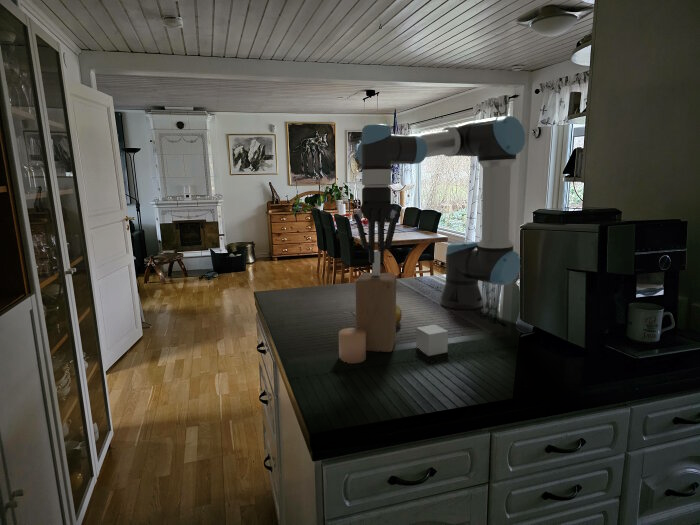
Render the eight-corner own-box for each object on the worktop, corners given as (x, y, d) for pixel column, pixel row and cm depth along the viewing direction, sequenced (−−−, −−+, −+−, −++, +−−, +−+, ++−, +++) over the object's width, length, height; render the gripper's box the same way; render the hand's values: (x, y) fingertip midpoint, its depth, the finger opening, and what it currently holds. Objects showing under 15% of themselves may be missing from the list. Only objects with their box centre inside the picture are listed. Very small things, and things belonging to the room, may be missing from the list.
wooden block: (392, 353, 115) (392, 280, 112) (355, 351, 117) (354, 279, 114) (395, 340, 125) (396, 272, 121) (361, 338, 127) (361, 271, 123)
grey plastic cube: (434, 344, 121) (434, 324, 120) (447, 352, 116) (448, 331, 115) (416, 348, 119) (416, 327, 118) (428, 356, 114) (429, 334, 112)
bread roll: (379, 316, 148) (379, 293, 146) (407, 319, 144) (407, 296, 142) (367, 328, 136) (366, 303, 134) (396, 331, 132) (397, 306, 131)
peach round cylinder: (363, 351, 117) (362, 327, 116) (368, 362, 110) (368, 336, 109) (337, 353, 116) (337, 328, 115) (341, 364, 109) (340, 338, 108)
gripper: (396, 186, 118) (395, 270, 122) (349, 186, 115) (350, 272, 120) (404, 186, 110) (403, 276, 115) (354, 187, 108) (355, 278, 113)
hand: (376, 274), depth 117 cm, fingers closed
